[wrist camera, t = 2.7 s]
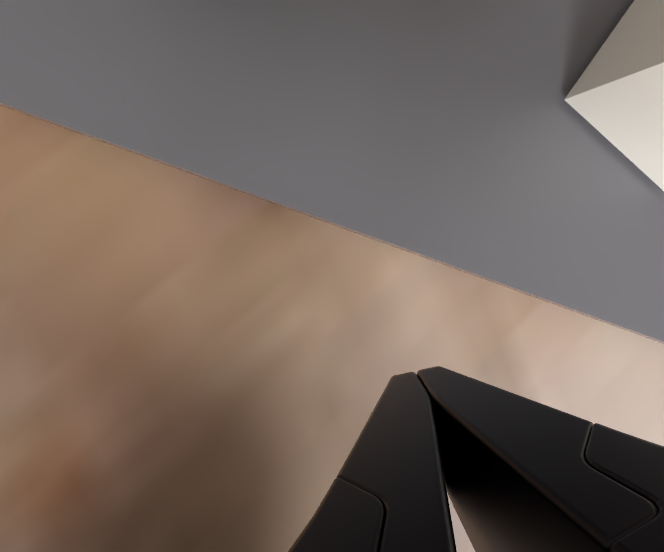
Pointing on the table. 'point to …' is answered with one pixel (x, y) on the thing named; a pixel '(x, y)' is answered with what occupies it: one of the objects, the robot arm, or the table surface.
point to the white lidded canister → (629, 88)
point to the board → (371, 125)
